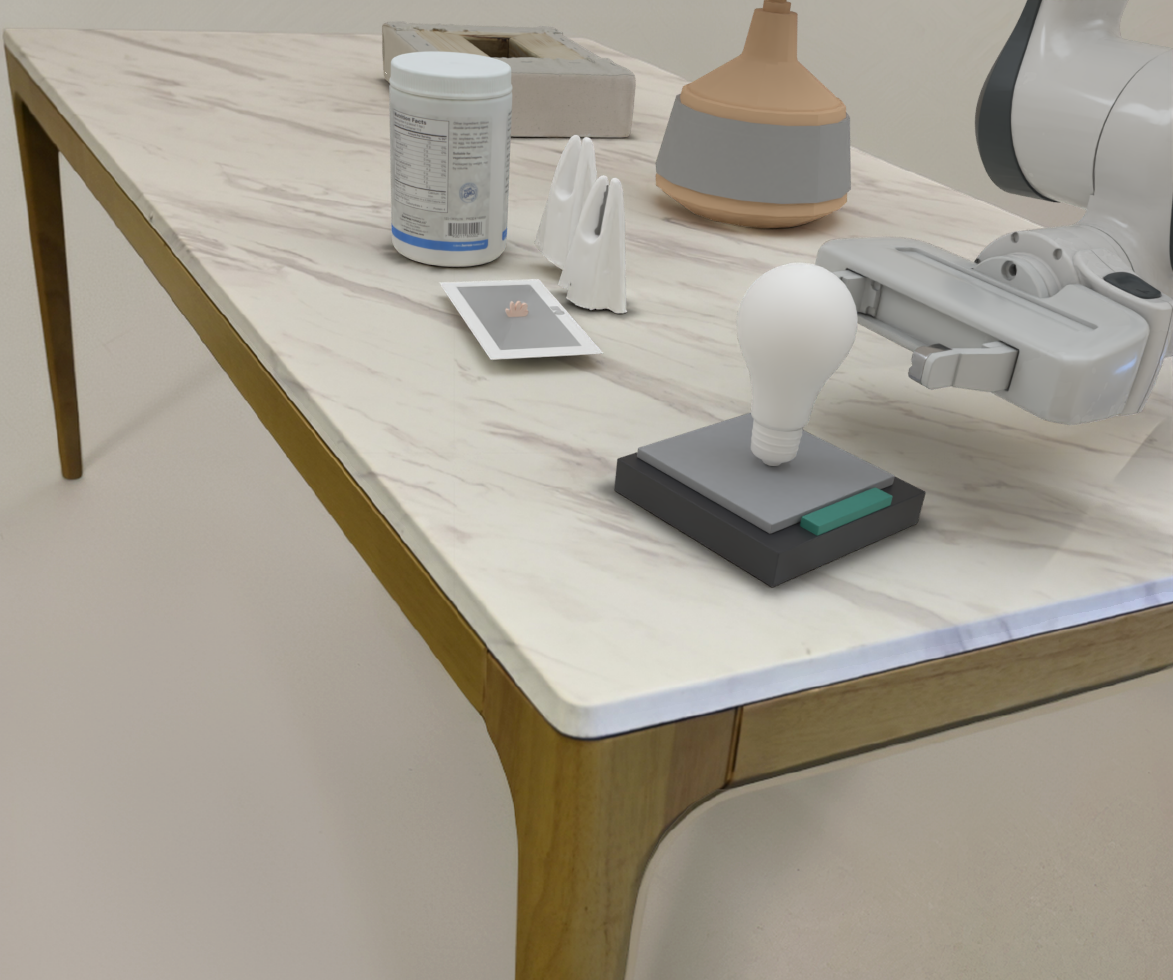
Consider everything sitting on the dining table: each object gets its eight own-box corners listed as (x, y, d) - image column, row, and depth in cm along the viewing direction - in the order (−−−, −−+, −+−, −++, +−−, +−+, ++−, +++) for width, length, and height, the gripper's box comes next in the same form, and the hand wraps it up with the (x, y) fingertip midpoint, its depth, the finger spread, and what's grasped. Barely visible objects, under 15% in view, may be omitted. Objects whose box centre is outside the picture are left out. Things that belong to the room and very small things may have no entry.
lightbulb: (751, 496, 63) (787, 289, 57) (695, 446, 68) (723, 249, 62) (849, 482, 65) (893, 282, 60) (789, 434, 70) (824, 243, 64)
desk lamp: (718, 171, 132) (772, -238, 112) (881, 210, 123) (970, -226, 104) (604, 207, 116) (644, -260, 97) (782, 255, 108) (864, -247, 88)
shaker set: (530, 264, 100) (538, 123, 94) (579, 262, 102) (589, 123, 96) (577, 316, 91) (589, 163, 85) (629, 313, 92) (644, 163, 86)
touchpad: (490, 375, 80) (491, 343, 79) (438, 296, 92) (439, 268, 91) (602, 368, 83) (604, 338, 82) (538, 292, 95) (539, 265, 93)
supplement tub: (432, 227, 107) (433, 45, 99) (527, 249, 104) (536, 63, 96) (367, 253, 99) (363, 60, 91) (467, 279, 96) (472, 80, 88)
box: (378, 80, 159) (437, 137, 134) (378, 15, 155) (439, 62, 130) (547, 85, 167) (633, 141, 142) (551, 23, 163) (641, 69, 138)
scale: (918, 523, 68) (929, 481, 66) (772, 587, 61) (780, 542, 59) (759, 441, 75) (766, 402, 74) (613, 490, 68) (617, 448, 67)
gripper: (924, 203, 77) (748, 220, 70) (1206, 313, 62) (1016, 347, 56) (903, 300, 80) (733, 325, 74) (1165, 426, 66) (982, 471, 59)
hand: (857, 336), depth 65 cm, fingers open, 8 cm apart
